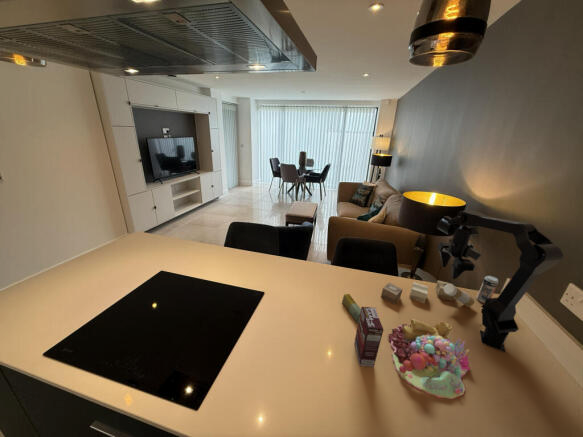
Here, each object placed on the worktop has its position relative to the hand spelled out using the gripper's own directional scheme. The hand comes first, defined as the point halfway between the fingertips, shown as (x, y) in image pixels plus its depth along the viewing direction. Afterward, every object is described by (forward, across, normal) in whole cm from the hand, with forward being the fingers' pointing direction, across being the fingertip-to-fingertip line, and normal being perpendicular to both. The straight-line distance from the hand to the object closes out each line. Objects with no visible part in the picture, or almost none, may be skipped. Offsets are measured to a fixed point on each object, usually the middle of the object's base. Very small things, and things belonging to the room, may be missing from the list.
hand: (448, 272), depth 99 cm
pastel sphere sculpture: (+14, -34, +18) cm, 41 cm away
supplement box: (+13, -37, +38) cm, 55 cm away
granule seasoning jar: (+11, -3, -10) cm, 15 cm away
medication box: (+13, -18, +41) cm, 47 cm away
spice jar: (+13, +2, -18) cm, 23 cm away
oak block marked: (+13, +2, -2) cm, 13 cm away
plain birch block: (+13, -2, +11) cm, 17 cm away
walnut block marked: (+13, -6, +23) cm, 27 cm away
